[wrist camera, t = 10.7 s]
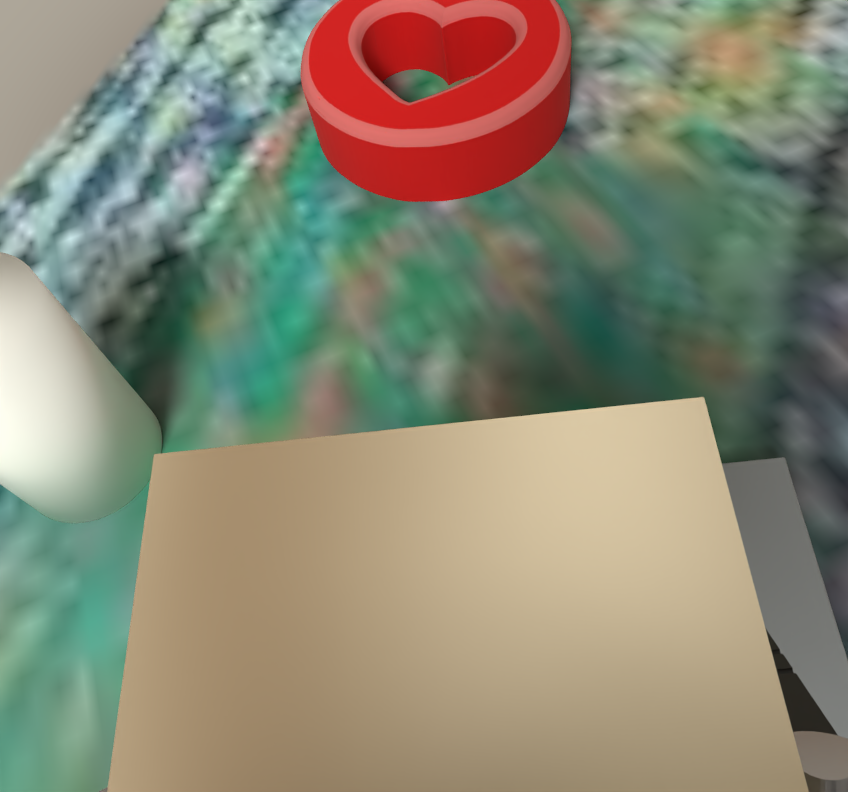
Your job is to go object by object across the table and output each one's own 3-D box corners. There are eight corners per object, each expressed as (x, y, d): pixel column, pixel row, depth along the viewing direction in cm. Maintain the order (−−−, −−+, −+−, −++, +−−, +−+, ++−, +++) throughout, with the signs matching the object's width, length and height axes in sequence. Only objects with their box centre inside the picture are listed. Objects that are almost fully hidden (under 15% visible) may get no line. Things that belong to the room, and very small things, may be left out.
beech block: (616, 661, 16) (703, 397, 7) (671, 981, 13) (906, 1161, 5) (360, 681, 16) (154, 454, 8) (363, 994, 13) (52, 1187, 5)
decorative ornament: (328, 229, 29) (305, 162, 26) (312, 56, 34) (291, -15, 31) (597, 177, 28) (602, 104, 26) (541, 10, 33) (540, -66, 31)
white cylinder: (184, 406, 25) (73, 262, 20) (124, 536, 23) (-20, 420, 17) (64, 384, 27) (-76, 241, 21) (-3, 507, 25) (-181, 388, 19)
